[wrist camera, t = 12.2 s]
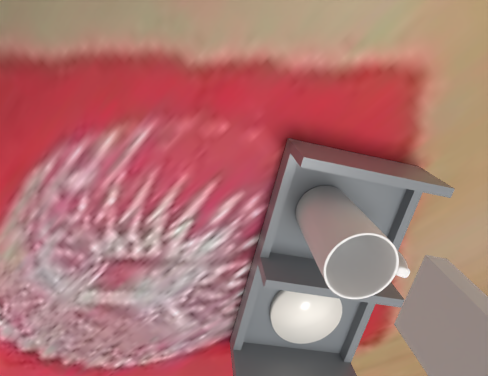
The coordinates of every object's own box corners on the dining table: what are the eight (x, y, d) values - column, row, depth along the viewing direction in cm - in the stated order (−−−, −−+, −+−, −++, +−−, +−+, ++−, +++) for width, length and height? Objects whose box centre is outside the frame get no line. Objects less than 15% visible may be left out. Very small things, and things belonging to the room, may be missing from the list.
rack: (229, 341, 53) (234, 384, 47) (287, 138, 44) (303, 156, 37) (342, 354, 56) (360, 397, 49) (418, 166, 47) (454, 188, 40)
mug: (283, 227, 46) (311, 289, 35) (306, 175, 44) (343, 223, 33) (359, 249, 49) (407, 314, 38) (384, 200, 47) (443, 254, 36)
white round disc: (261, 332, 52) (263, 339, 51) (280, 273, 49) (282, 279, 48) (326, 340, 53) (329, 347, 52) (348, 284, 50) (352, 290, 49)
